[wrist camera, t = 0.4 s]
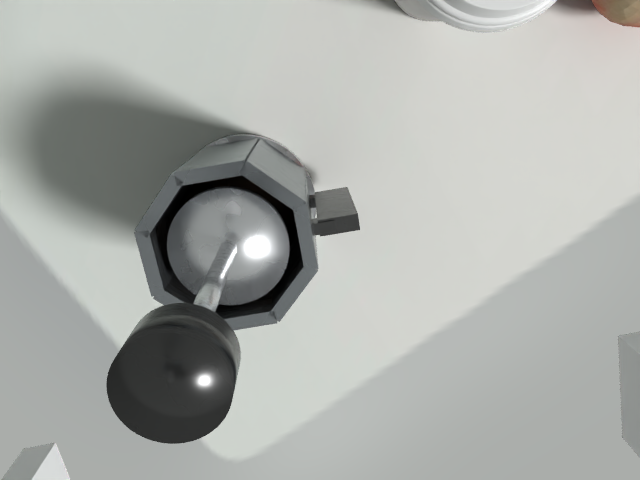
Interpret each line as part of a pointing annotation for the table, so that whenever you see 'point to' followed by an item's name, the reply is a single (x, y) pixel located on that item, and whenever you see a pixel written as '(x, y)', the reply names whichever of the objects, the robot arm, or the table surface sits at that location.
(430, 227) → the table surface
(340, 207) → the press carafe
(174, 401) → the plunger
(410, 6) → the coffee cup
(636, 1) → the fruit
